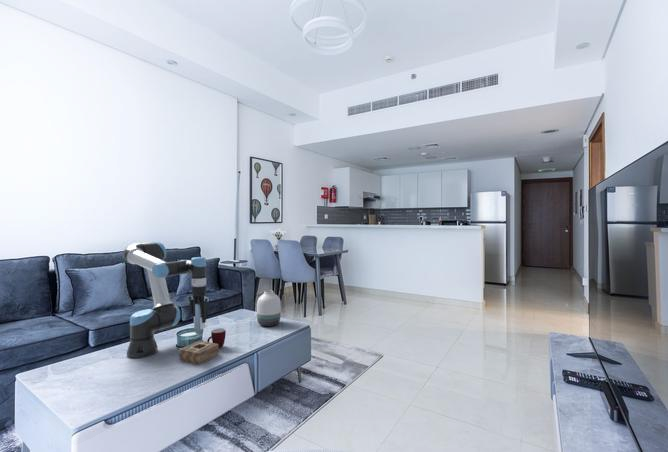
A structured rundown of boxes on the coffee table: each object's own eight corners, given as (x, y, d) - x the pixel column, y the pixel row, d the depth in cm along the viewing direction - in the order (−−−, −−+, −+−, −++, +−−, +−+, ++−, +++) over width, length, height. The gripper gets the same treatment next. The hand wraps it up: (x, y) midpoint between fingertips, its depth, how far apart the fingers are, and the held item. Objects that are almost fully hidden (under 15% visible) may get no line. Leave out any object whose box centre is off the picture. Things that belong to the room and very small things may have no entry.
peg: (193, 333, 176) (193, 304, 176) (199, 331, 180) (199, 302, 180) (199, 334, 175) (199, 304, 174) (205, 331, 178) (204, 303, 178)
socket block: (179, 360, 174) (179, 348, 174) (199, 350, 187) (199, 340, 187) (199, 364, 168) (199, 353, 168) (218, 354, 181) (218, 343, 181)
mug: (211, 352, 184) (211, 335, 184) (204, 348, 189) (204, 332, 189) (228, 347, 192) (228, 330, 192) (221, 343, 197) (221, 327, 197)
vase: (256, 321, 240) (256, 289, 240) (279, 319, 245) (278, 288, 245) (257, 329, 224) (257, 294, 224) (282, 326, 229) (282, 293, 229)
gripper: (181, 285, 177) (182, 328, 177) (205, 287, 170) (206, 332, 170) (192, 283, 184) (193, 324, 184) (215, 285, 177) (216, 327, 177)
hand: (199, 327), depth 177 cm, fingers closed on peg, 4 cm apart
